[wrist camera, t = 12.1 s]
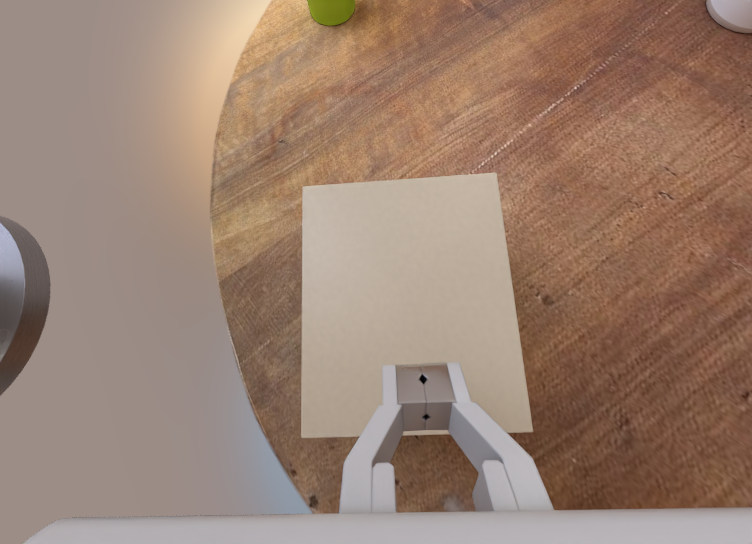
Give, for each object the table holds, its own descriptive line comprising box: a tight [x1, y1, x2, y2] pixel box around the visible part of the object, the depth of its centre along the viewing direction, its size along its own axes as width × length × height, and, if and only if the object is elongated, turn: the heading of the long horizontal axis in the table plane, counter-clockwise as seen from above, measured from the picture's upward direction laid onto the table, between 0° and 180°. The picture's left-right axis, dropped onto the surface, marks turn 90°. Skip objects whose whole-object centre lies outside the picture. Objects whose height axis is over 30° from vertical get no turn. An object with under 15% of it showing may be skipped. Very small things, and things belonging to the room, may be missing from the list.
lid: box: [301, 173, 533, 438], centre depth 18 cm, size 16×14×1 cm
